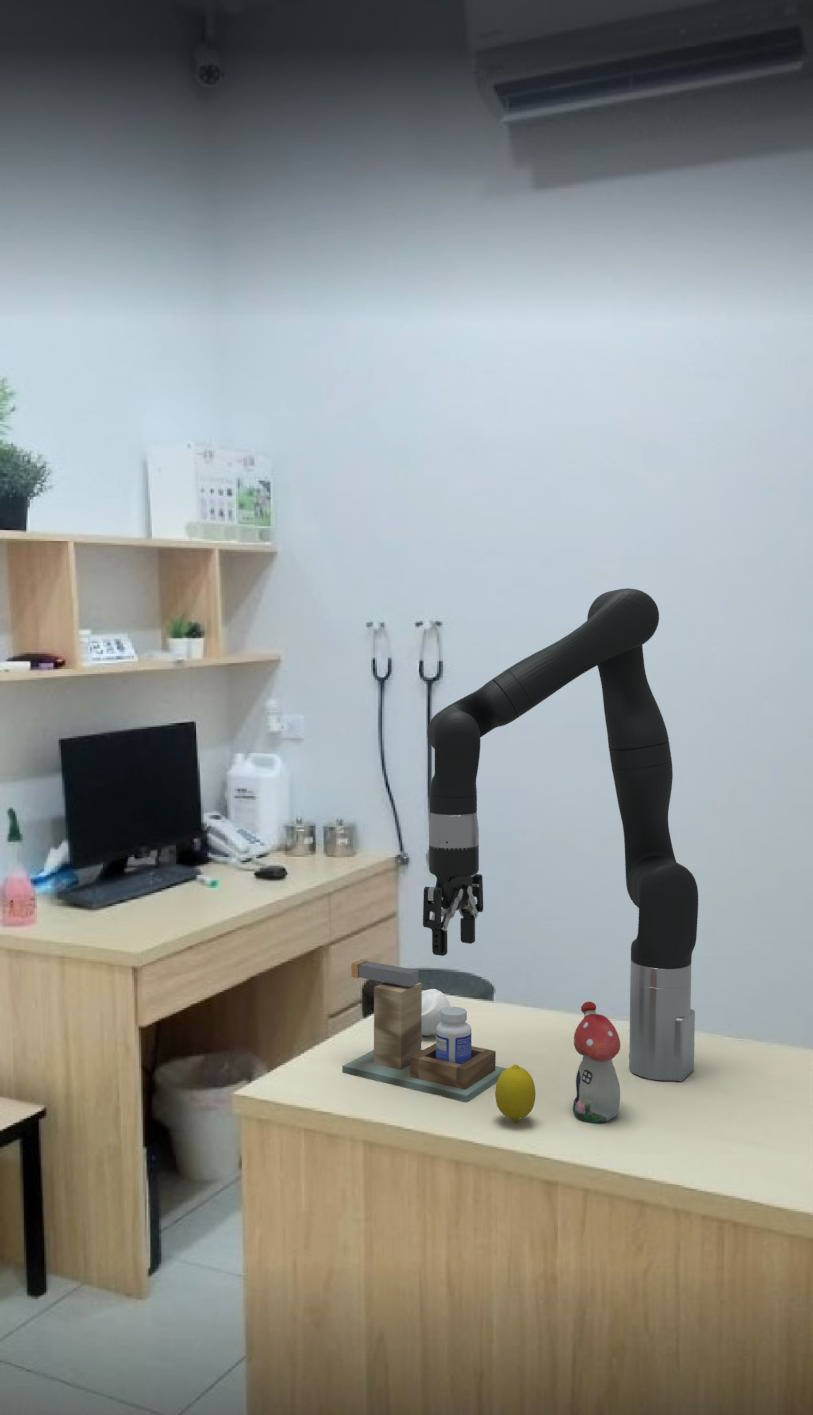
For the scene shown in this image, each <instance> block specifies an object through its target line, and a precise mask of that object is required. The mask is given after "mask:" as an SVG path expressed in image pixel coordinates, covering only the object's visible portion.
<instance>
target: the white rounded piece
mask: <svg viewBox="0 0 813 1415" xmlns="http://www.w3.org/2000/svg"><path fill="white" fill-rule="evenodd" d="M445 1007H451V1004H450V1001H449V999H448V998H447V996H446V995H445V994H444V993H443V992H442V991H440V990H438V989H436V988H429V989H426V990H422V1024H421V1037H422V1036H423V1037H431V1036H436V1027H437V1025H438V1024H439V1023H441V1022H442V1021H441V1018H440V1013H441V1009H443V1008H445Z"/></svg>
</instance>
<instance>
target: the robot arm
mask: <svg viewBox="0 0 813 1415" xmlns="http://www.w3.org/2000/svg"><path fill="white" fill-rule="evenodd" d="M586 618H587V619H586V621H585V622H584V623H582V624H581V625H580V626H578V627H577V628H576V629H575V630H573V631H572V632H570V633H568V634H567V635H565V636H563V637H562V638H561V639H558V640H557V641H556V642H554V643H551V644H550V645H548V646H547V647H545V648H542V649H540V650H538V651H537V652H534V653H532V654H531V655H528V656H527V657H525V658H523V659H522V660H520V661H519V662H516V663H515V664H514V665H511V666H510V667H509V668H507V669H506V670H503V671H502V672H501V673H500V674H498V675H496V676H495V677H493V678H492V679H490V680H488V682H486V683H485V684H484V685H482V686H481V687H480V688H478V689H477V690H475V691H473V692H471V693H469V694H468V695H465V696H464V697H462V698H460V699H458V700H457V701H454V702H453V703H451V704H449V705H447V706H445V707H444V708H443V709H442V710H440V711H439V712H437V713H435V714H434V716H433V717H432V718H431V719H430V721H429V723H428V726H427V731H426V733H427V734H426V735H427V739H428V741H429V744H430V746H431V748H433V750H434V775H433V777H432V779H431V782H430V791H429V793H430V796H429V799H430V800H429V802H430V804H429V805H430V806H429V807H430V814H429V821H428V822H429V824H428V871H429V873H430V874H431V875H434V876H435V878H436V880H435V886H434V887H433V886H424V888H423V900H422V902H423V906H422V908H423V909H422V910H423V911H422V926H423V928H428V929H430V930H431V941H432V942H431V949H432V951H431V952H432V954H433V955H434V956H441V957H443V956H446V955H447V954H448V927H449V924H450V921H451V919H452V918H453V919H454V916H455V915H456V912H457V911H458V912H459V914H460V916H461V917H460V926H459V927H460V932H459V933H460V942H461V943H464V944H470V945H471V944H474V943H475V942H476V919H477V918H478V916H479V913H483V911H484V886H483V885H484V884H483V880H484V879H483V874H479V870H480V867H479V866H480V861H479V859H480V858H479V857H480V856H479V854H480V849H479V846H480V844H479V843H480V842H479V840H480V835H479V834H480V833H479V832H480V830H479V829H480V828H479V821H478V820H479V819H478V795H477V794H478V791H477V790H478V788H477V776H478V770H479V764H480V756H481V755H480V754H481V738H482V737H484V736H485V735H487V734H488V733H490V732H491V731H492V730H495V729H496V728H499V727H504V726H506V725H509V724H510V723H513V721H515V720H517V719H518V718H520V717H521V716H523V715H524V714H526V713H527V712H529V711H530V710H532V709H533V708H534V707H535V708H536V706H538V705H539V704H540V703H542V702H543V701H544V700H546V699H547V698H549V697H551V696H552V695H553V694H555V693H556V692H558V691H559V690H560V689H562V688H564V686H566V685H568V684H569V683H570V682H572V681H574V680H575V679H577V678H578V677H580V676H582V675H583V674H585V673H587V672H589V671H590V670H592V669H593V668H595V667H597V668H598V675H599V678H600V684H601V693H602V702H603V712H604V718H605V719H604V720H605V726H606V733H607V742H608V751H609V760H610V765H611V772H612V777H613V781H614V782H613V783H614V786H615V793H616V799H617V803H618V809H619V810H618V811H619V815H620V819H621V823H622V830H623V839H624V843H623V844H624V859H625V860H624V865H625V868H624V869H625V883H626V884H625V885H626V890H627V894H628V896H629V898H630V900H631V901H632V903H633V904H634V905H635V906H636V907H637V908H638V923H637V927H638V928H637V936H636V938H635V939H634V940H633V941H632V942H631V944H630V976H629V977H630V978H629V980H630V982H629V984H630V985H629V986H630V990H629V992H630V994H629V1044H628V1045H629V1047H628V1048H629V1052H628V1060H629V1062H628V1068H629V1070H630V1071H631V1073H633V1074H635V1075H637V1076H638V1077H641V1078H645V1079H649V1080H656V1081H676V1082H683V1081H684V1080H685V1079H686V1078H687V1077H688V1076H689V1075H690V1074H691V1073H692V1072H693V1071H695V1070H694V1069H695V1034H696V1033H695V1031H696V1030H695V1029H696V1028H695V1027H696V1026H695V1025H696V1024H695V1022H696V1017H695V1016H696V1011H695V1010H694V1009H691V1007H692V1006H691V1005H692V1004H691V1001H692V997H691V995H692V955H693V951H694V949H695V947H696V943H697V938H698V937H697V933H698V921H699V920H698V918H699V917H698V916H699V915H698V914H699V890H698V883H697V881H696V878H695V875H693V873H692V872H691V871H690V870H689V869H688V868H687V867H686V866H684V865H682V864H681V863H679V862H677V860H676V856H675V852H674V848H673V844H672V839H671V834H670V827H669V826H670V825H669V808H670V802H671V796H672V788H673V779H674V778H673V776H674V775H673V774H674V772H673V760H672V753H671V746H670V741H669V740H670V739H669V735H668V729H667V727H666V723H665V721H664V717H663V715H662V712H661V709H660V708H659V705H658V703H657V701H656V699H655V696H654V694H653V691H652V689H651V687H650V684H649V681H648V678H647V677H648V676H647V674H646V667H645V660H644V657H645V656H644V650H643V649H644V648H643V645H644V644H646V643H647V642H648V641H650V640H651V639H652V637H653V636H654V634H655V633H656V631H657V629H658V626H659V621H660V611H659V608H658V605H657V603H656V601H655V600H654V599H653V597H652V596H650V594H648V593H646V592H644V591H642V590H640V589H637V588H629V587H628V588H627V587H626V588H619V589H614V590H610V591H609V590H608V591H606V592H604V593H601V594H600V595H599V596H597V597H596V598H595V599H594V600H593V601H592V602H591V605H590V607H589V610H588V613H587V617H586ZM431 913H432V915H431Z"/></svg>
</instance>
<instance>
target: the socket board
mask: <svg viewBox="0 0 813 1415" xmlns="http://www.w3.org/2000/svg"><path fill="white" fill-rule="evenodd" d="M422 988H423V983H422V982H419V983H418V984H416V985H413V986H411V987H408V986H403V985H397V984H392V983H386V982H382V983H381V984H378V985H375V986H374V988H373V1049H372V1050H370V1051H368V1052H367V1053H365V1054H363V1055H361V1056H359V1057H357V1058H355V1059H353V1060H350V1061H349V1062H347V1063H345V1064H344V1065H342V1071H341V1072H342V1073H344V1074H349V1075H353V1076H356V1077H362V1078H364V1079H369V1080H373V1081H376V1082H382V1083H385V1084H390V1085H394V1086H398V1087H402V1088H406V1089H411V1090H414V1091H420V1092H423V1093H426V1094H431V1095H436V1096H439V1097H444V1098H448V1099H452V1100H456V1101H460V1102H464V1103H468V1102H469V1101H471V1100H472V1099H475V1097H477V1096H478V1095H480V1094H482V1093H483V1092H484V1091H486V1090H487V1089H489V1088H490V1087H492V1086H494V1085H496V1084H497V1080H498V1078H499V1076H500V1074H501V1073H502V1072H503V1071H504V1070H505V1069H507V1068H508V1067H502V1066H497V1065H496V1064H497V1063H496V1062H497V1061H496V1058H497V1057H496V1056H497V1055H496V1054H497V1053H496V1050H493V1049H488V1048H483V1047H479V1046H474V1045H471V1059H470V1060H468V1061H467V1062H465V1063H463V1064H462V1065H461V1064H457V1063H452V1062H448V1061H443V1060H439V1059H436V1042H435V1043H434V1044H431V1045H430V1046H428V1047H426V1048H424V1049H422V1035H421V1024H422V992H423V990H422Z"/></svg>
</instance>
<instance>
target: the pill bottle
mask: <svg viewBox="0 0 813 1415" xmlns="http://www.w3.org/2000/svg"><path fill="white" fill-rule="evenodd" d="M467 1012H468V1011H467V1010H466V1009H465V1008H463V1007H459V1006H450V1007H445V1008H443V1009H441V1013H440V1018H441V1021H442V1022H441V1023H439V1024H438V1025H437V1027H436V1035H435V1043H436V1059H439V1060H443V1061H448V1062H452V1063H457V1064H461V1065H462V1064H463V1063H465V1062H467V1061H468V1060H470V1059H471V1046H472V1027H471V1025H470V1024H469V1023H468V1022H466V1021H467V1020H468V1016H467V1015H468V1013H467Z"/></svg>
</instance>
